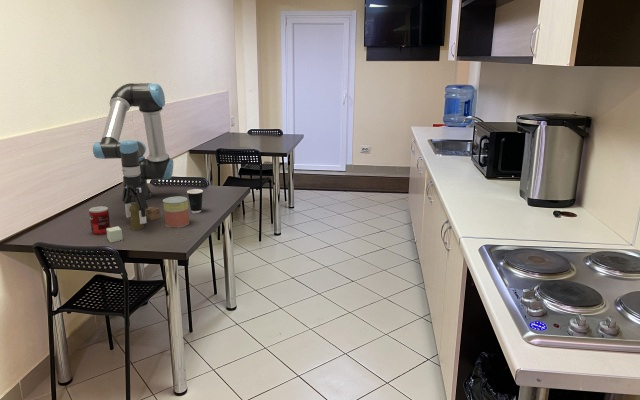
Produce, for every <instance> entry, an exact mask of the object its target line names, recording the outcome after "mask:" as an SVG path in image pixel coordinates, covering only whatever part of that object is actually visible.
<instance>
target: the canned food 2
mask: <svg viewBox="0 0 640 400" xmlns="http://www.w3.org/2000/svg"><path fill="white" fill-rule="evenodd" d="M188 201H189V198H187V197H186V196H177V195H176V196H168V197H166V198H164V199H162V204H163V207H162V208H163V216H164V217H163V218H164V226H165V227H166V228H171V227H177V228H182V227H186V226H188V225H190V218H189V215H190V214H189V202H188Z"/></svg>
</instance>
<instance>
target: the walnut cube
mask: <svg viewBox="0 0 640 400" xmlns="http://www.w3.org/2000/svg"><path fill="white" fill-rule="evenodd" d="M145 211H146V220H149V221H155V220H157V219H160V218H161V211H160V208H159V207H155V206H150V207H149V206H148V209H145Z"/></svg>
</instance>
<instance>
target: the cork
mask: <svg viewBox="0 0 640 400" xmlns="http://www.w3.org/2000/svg"><path fill="white" fill-rule="evenodd" d="M129 210H130V212H131V217H130V230H132V231H133V230H134V231H135V230H136V231H137V230H143V229H144V228H145V226H144V224H140V217H139V206H138V204H137V203H135V204H131V206H130V207H129Z"/></svg>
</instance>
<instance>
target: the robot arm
mask: <svg viewBox="0 0 640 400" xmlns="http://www.w3.org/2000/svg"><path fill="white" fill-rule="evenodd" d="M165 99H166V97H165V93H164V90H163V88H162V86H161V85H160V84H158V83H151V82H150V83H149V82H148V83H141V82H140V83H125V84H123V85H121V86H120V87H119V88H117V89H116V90H115V91H114V92H113V94H112V95H111V97H110V100H109V107H110V108H109V112H108V116H107V119H106V122H105V127H104V129H103V132H102V133H103V134H102V136H101V139H100V141H98V142H94V143H93V145H92V152H93V156H94V157H95V159H99V160H100V159H103V160H105V159H108V160H109V159H110V160H112V159H120V161H121V172H122V175H123V177H122V179H123V189H122V190H123V191H122V199H121V202H123V203H124V206H125V208H124V209H125V217H126V218H127V219H128V218H131V212H130V210H129V207H130V206H131V205H132V202H136V204H138V206H139V217H140V224H143V225H144V224H147V223H148V222H147V219H146V211H145V209H148V208H149V206H148V203H147V200H149V199H151V198H152V192H151V190H150V187H149V185H148V180H149V181H151V180H153V181H156V180H161V181H163V180H170V179H172V176H173V173H174V159H173V158H172V157H171V158H170V154H168V153H167V151H166V143H165V138H164V131H163V125H162V117H161V111H162V110H163V107H165V106H166V100H165ZM132 107H138V109H139V112H140V113H142V115H143V116H142V117H143V122H144V128H145V133H146V134H145V135H146V141H147V147H148V153H149V154H148V156H147V157H145V156H144V155H145V154H146V151H147V147H146V145H145V144H144V142H142V141H140V140H134V139H133V140H129V139H128V140H121V141H120V139H121V135H122V130H123V127H124V123H125V119H126V116H127V112H128V111H129V110H130V108H132Z"/></svg>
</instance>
